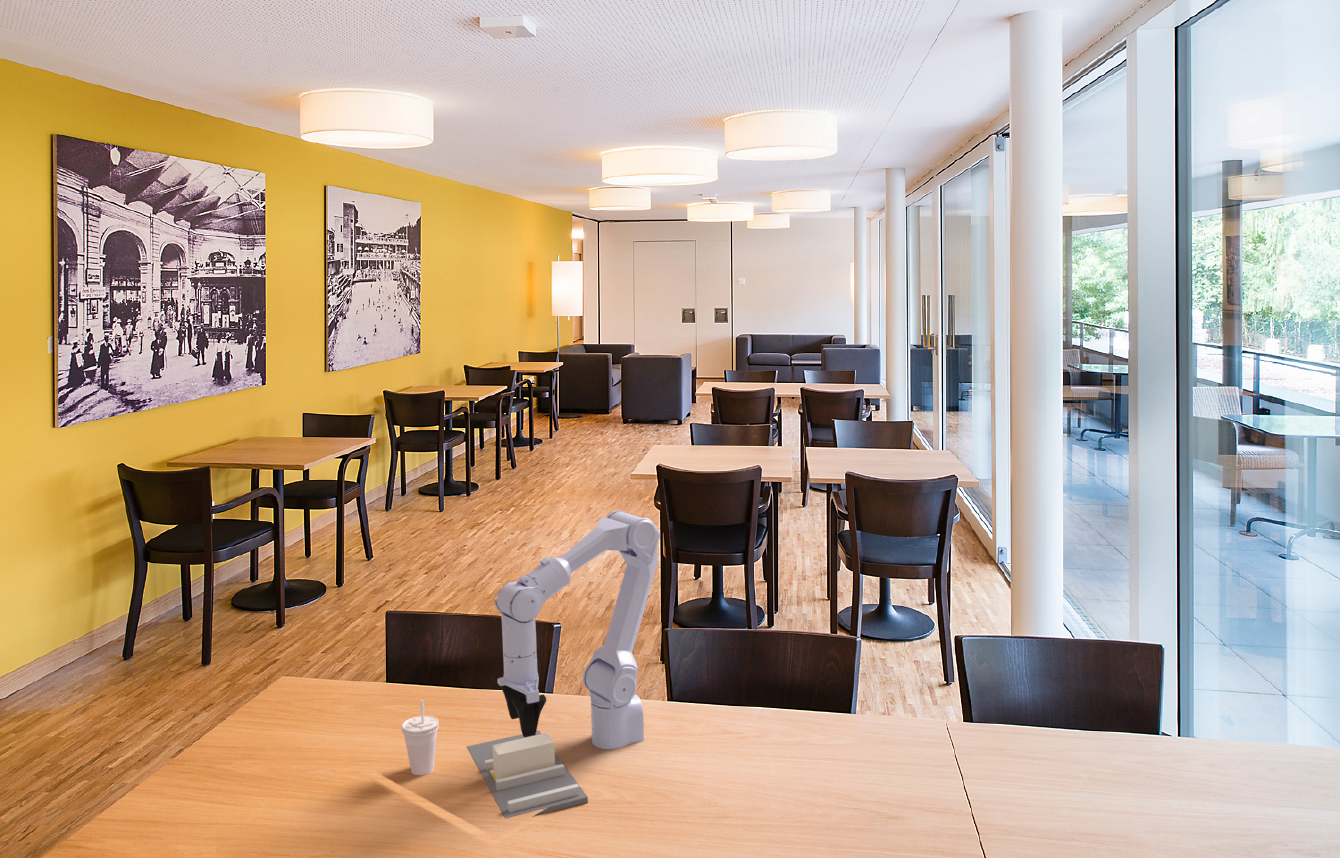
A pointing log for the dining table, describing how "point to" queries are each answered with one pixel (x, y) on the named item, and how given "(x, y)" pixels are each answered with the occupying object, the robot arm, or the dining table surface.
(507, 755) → the frame block
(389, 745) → the dining table surface
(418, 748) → the smoothie
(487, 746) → the grey ridged board
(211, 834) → the dining table surface
